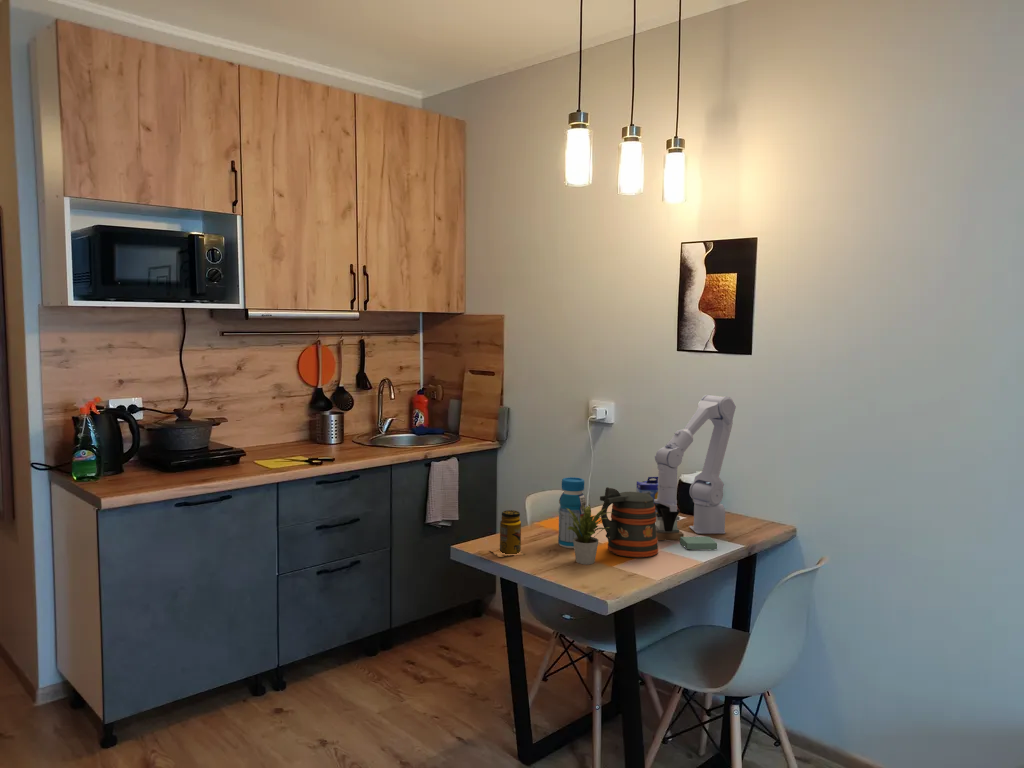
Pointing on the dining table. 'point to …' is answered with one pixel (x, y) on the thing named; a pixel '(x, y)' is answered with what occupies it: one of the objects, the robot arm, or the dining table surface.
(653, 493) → the ink cartridge box
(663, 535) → the stand
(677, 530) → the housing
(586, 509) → the house plant
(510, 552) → the condiment
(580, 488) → the beverage bottle
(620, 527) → the beer stein
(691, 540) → the stand
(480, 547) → the dining table surface
